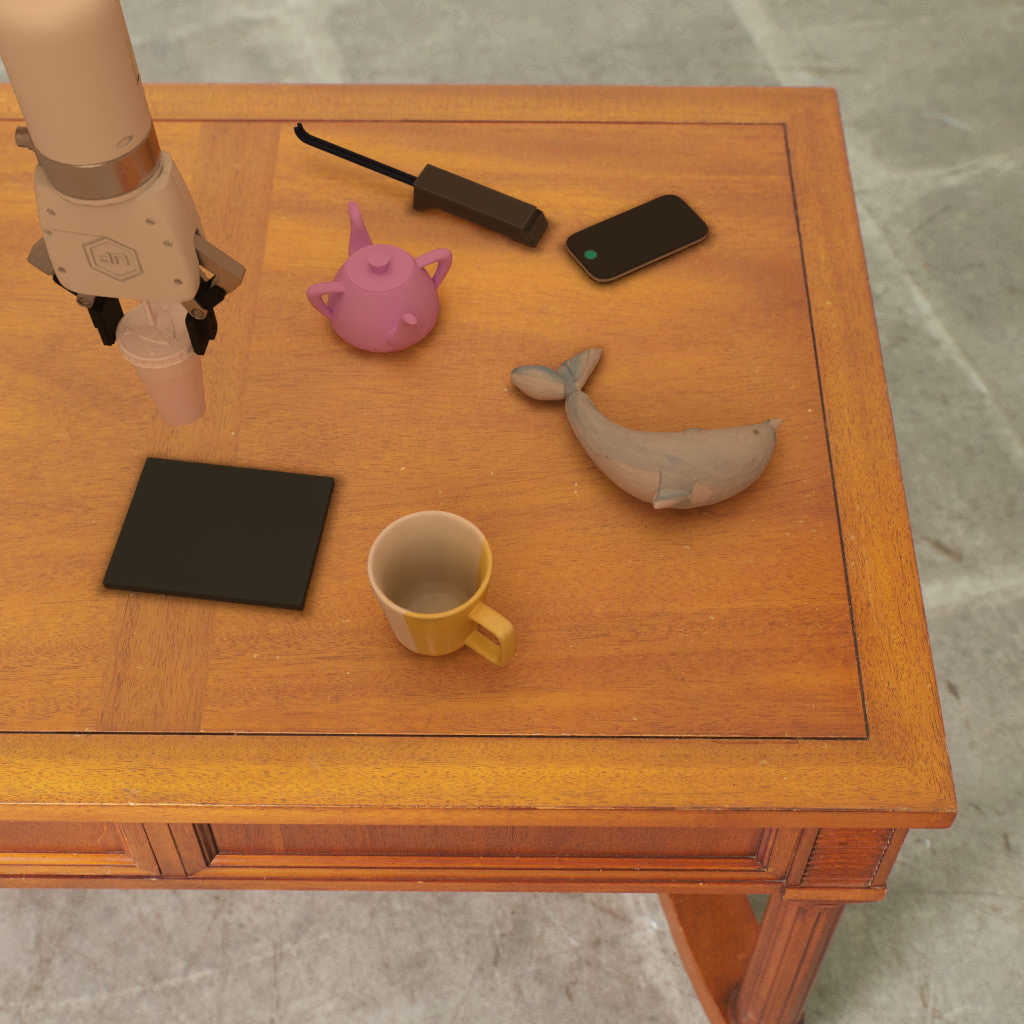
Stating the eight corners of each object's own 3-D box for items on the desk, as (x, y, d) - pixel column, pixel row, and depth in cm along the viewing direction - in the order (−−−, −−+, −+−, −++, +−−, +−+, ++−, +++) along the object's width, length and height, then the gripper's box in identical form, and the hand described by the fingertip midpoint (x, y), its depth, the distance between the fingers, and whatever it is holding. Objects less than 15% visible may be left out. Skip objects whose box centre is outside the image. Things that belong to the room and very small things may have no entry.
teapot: (358, 261, 137) (350, 198, 129) (473, 304, 133) (471, 241, 126) (299, 335, 131) (288, 273, 123) (418, 382, 127) (414, 321, 120)
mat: (104, 588, 114) (101, 582, 113) (149, 462, 122) (146, 456, 121) (303, 611, 113) (301, 605, 112) (335, 483, 120) (333, 476, 120)
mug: (354, 615, 112) (342, 552, 104) (447, 555, 116) (443, 488, 107) (446, 728, 106) (442, 671, 98) (541, 661, 110) (545, 600, 101)
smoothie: (191, 366, 107) (154, 244, 96) (238, 409, 105) (207, 289, 93) (127, 407, 105) (82, 287, 93) (174, 452, 102) (134, 335, 91)
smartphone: (560, 237, 138) (674, 189, 142) (560, 243, 138) (673, 195, 143) (599, 282, 134) (714, 230, 138) (598, 288, 135) (713, 236, 139)
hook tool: (546, 235, 141) (305, 139, 145) (550, 211, 138) (304, 114, 142) (532, 257, 139) (289, 160, 143) (536, 234, 136) (287, 135, 140)
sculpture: (637, 283, 131) (820, 412, 117) (631, 342, 136) (804, 471, 123) (500, 347, 123) (678, 493, 109) (499, 407, 128) (669, 553, 115)
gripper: (-52, 176, 81) (33, 362, 96) (215, 202, 80) (259, 386, 95) (-10, 100, 85) (65, 290, 100) (244, 124, 84) (282, 311, 99)
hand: (159, 335), depth 97 cm, fingers closed on smoothie, 6 cm apart
